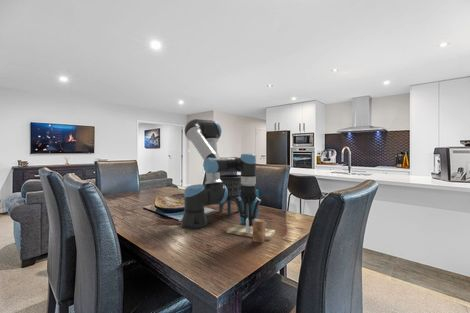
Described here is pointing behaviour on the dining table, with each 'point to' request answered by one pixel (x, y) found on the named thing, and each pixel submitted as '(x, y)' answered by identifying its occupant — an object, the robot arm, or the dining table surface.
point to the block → (248, 207)
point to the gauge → (259, 230)
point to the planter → (231, 190)
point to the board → (242, 231)
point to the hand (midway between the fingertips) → (248, 231)
